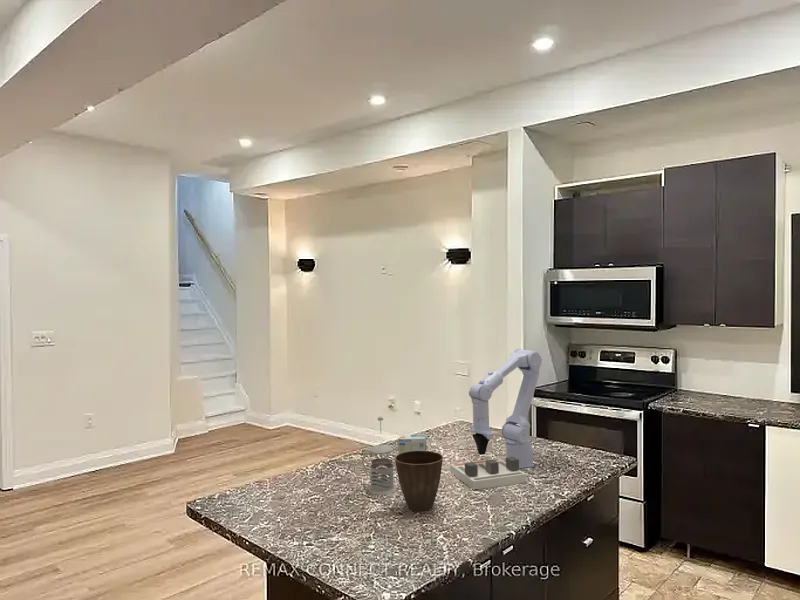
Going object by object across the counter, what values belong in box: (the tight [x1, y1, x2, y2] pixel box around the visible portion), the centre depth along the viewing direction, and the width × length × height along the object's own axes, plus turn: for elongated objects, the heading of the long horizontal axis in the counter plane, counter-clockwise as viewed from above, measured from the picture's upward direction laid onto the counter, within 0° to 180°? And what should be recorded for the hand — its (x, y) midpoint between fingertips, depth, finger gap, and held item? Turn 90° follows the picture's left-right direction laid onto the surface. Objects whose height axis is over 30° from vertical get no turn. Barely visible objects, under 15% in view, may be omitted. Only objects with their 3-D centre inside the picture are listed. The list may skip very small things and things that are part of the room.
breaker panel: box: [449, 457, 527, 491], centre depth 212 cm, size 20×20×7 cm
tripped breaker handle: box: [485, 458, 499, 474], centre depth 208 cm, size 3×4×4 cm
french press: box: [361, 416, 397, 495], centre depth 202 cm, size 10×12×25 cm
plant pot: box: [394, 450, 444, 513], centre depth 185 cm, size 15×15×16 cm
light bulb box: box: [397, 434, 428, 454], centre depth 231 cm, size 11×7×11 cm, turn 84°
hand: (482, 454), depth 216 cm, fingers closed
